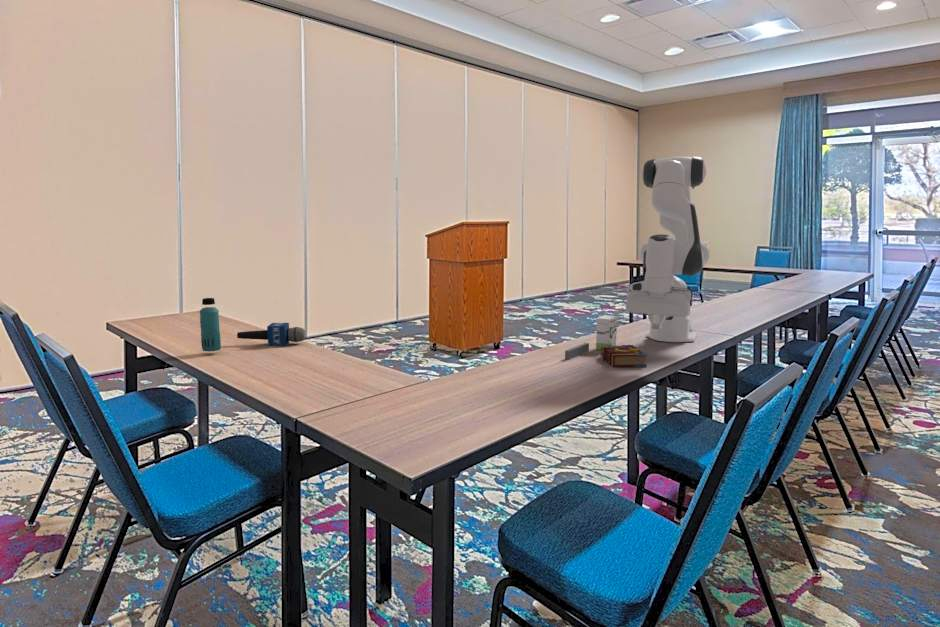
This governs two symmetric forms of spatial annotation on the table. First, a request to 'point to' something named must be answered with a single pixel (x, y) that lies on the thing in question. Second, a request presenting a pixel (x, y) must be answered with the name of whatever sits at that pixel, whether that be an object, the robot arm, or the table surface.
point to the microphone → (276, 334)
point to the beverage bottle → (210, 326)
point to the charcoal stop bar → (576, 350)
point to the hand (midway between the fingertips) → (656, 328)
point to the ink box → (606, 331)
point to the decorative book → (623, 356)
